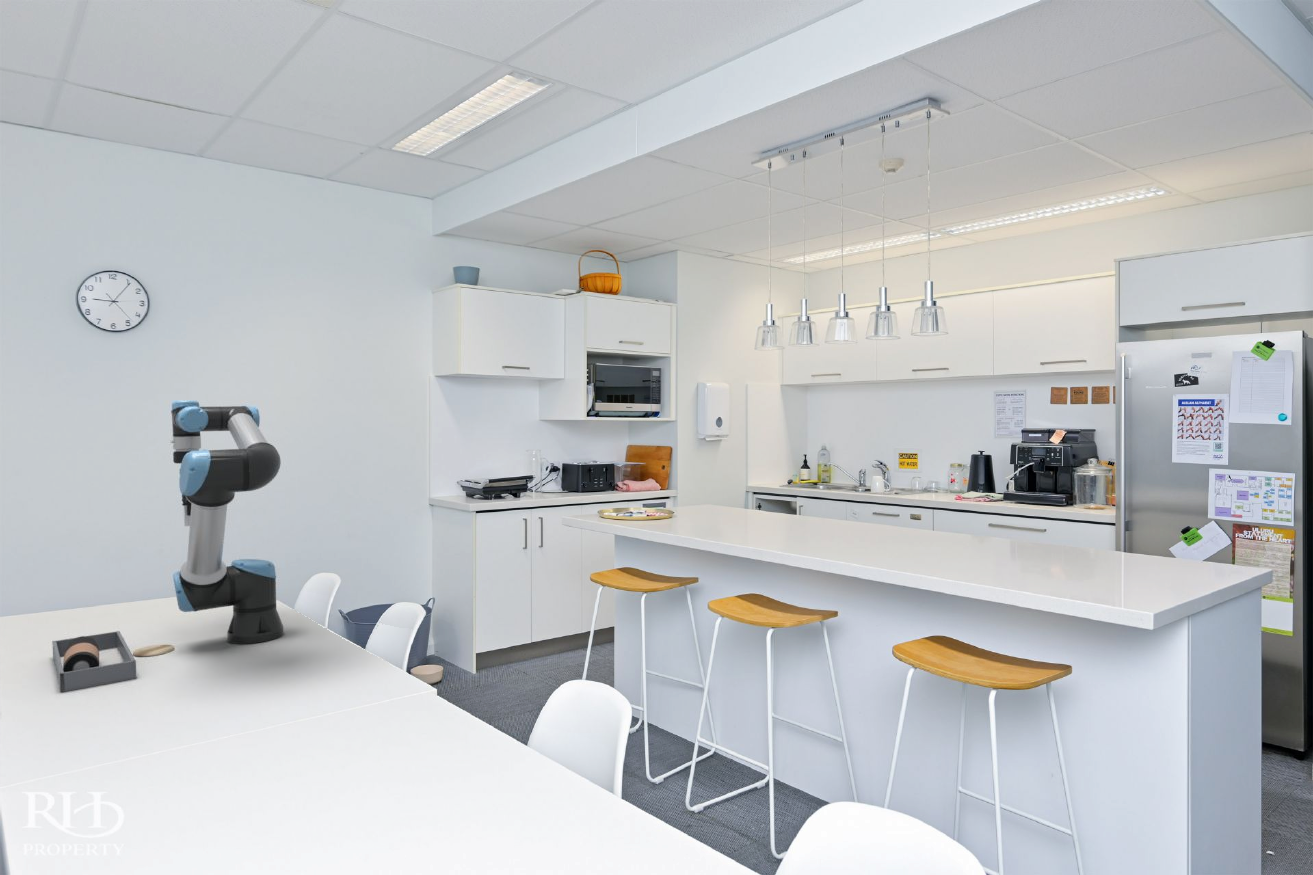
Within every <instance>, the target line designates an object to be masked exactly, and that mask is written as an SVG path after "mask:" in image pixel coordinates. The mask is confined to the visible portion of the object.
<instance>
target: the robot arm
mask: <svg viewBox="0 0 1313 875" xmlns="http://www.w3.org/2000/svg"><path fill="white" fill-rule="evenodd" d="M170 412H171V413H170V414H171V421H172V439H171V440H170V443H171V444H172V448H173V450H175V451H173V453H172V455H173V463H174V464H180V468H179V479H178V480H179V482H178V483H179V490H180V491H179V492H180V494H181V501H182V503H181V504H182V506H183V523H184V524H183V525H184V527H189V529H188V530H189V533H188V546H187V557H186V558H187V559H186V561H185V562H184V563H183V564H182V565H181V566H180V569H179V570H180V571H176V572H174V573H173V575H172V578H173V585H174V592H175V596H176V601H177V606H178V609H179V611H181V612H182V613H191V612H199V611H206V610H213V609H218V608H225V607H226V608H227V607H231V606H232V611H233V613H232V617H231V620H230V624H229V627H228V630H227V633H226V634H227V635H226V636H227V642H228V643H230V644H237V645H238V644H239V645H242V644H244V645H245V644H246V645H247V644H256V643H263V642H268V641H273V640H275V639H278V638H280V637H282V636H283V635H284V632H285V631H284V625H283V622H282V619H281V618H280V615H279V612H278V609H277V587H276V586H277V582H276V579H277V574H276V566H275V564H274V563H273V562H272V561H269V560H264V559H257V558H255V559H254V558H251V559H250V558H244V559H243V558H242V559H241V558H239V559H234V560H232V562H231V564H230V566H227V565H226V563H225V562H224V561H223V552H224V544H225V543H224V541H225V531H226V522H227V511H228V505H229V504H230V503H231V502H233V500H234V498H235V493H240V492H241V493H242V492H251V491H252V492H253V491H256V490H260V489H262V488H263V487H266V486H267V485H269V483H271V482H272V481H273V480H274V479H275V478H276V477H277V475H278V473H279V470H280V468H281V464H282V463H281V455H280V454H279V451H278V450H277V449H276V447H275V446H274V445H273V444H272V443H269V442H268V440H266V438H265V436H264V435H263V433H262V432H261V430H260V428H259V427H260V420H261V419H260V418H261V417H260V412H259V409H258V408H257V407H256V406H250V405H249V406H248V405H241V406H239V405H238V406H235V405H234V406H233V405H232V406H229V405H228V406H200V402H199V401H197V400H174V401H172V403H171V411H170ZM201 432H229V433H230V435H231V437H232V438H233V441H234V442H235V444H236V447H237V448H234V449H233V448H232V449H212V450H211V449H210V450H209V449H205V448H203V449H201V448H202V438H201V437H202V436H201Z"/></svg>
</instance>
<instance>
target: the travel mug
mask: <svg viewBox="0 0 1313 875" xmlns="http://www.w3.org/2000/svg"><path fill="white" fill-rule="evenodd" d="M87 636H88V635H84V636H83V635H82V636H77V637H74V638H75V639H73V640H72V641H71V642H70V643H69V644H68V645H67V648H66V651H65V655H64V656H63V661H62V662H63V663H62V667H63V671H64V672H70V671H76V670H81V669H87V668H93V667H99V666H100V650H99V649H98V645H97V642H96V641H95V640H94V639H93V638H91V637H87Z"/></svg>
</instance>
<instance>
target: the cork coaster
mask: <svg viewBox="0 0 1313 875" xmlns="http://www.w3.org/2000/svg"><path fill="white" fill-rule="evenodd" d="M174 650H175V646H174V645H172V644H156V645H154V644H153V645H148V646H145V647H144V646H143V647H141V648H138V649H136V650H134V651H132V655H133V657H136V658H148V657H149V658H151V657H157V656H162V655H167V654H168V653H171V652H173V651H174Z"/></svg>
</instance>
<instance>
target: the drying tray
mask: <svg viewBox="0 0 1313 875" xmlns="http://www.w3.org/2000/svg"><path fill="white" fill-rule="evenodd" d="M86 636H87V637H91V638H93V639H94V640H95V641H96V642H97V645H98V649H99V651H103V650H104V651H105V650H110V649H116V648H117V650H118V653H119V654H120V656H121V658H122V660H123V662H122V661H121V662H115V663H112V664H111V663H110V664H105V665H99V667H93V668H87V669H81V670H76V671H70V672H64V671H63V663H62V661H61V660H62V659H61V657H64V655H65V651H66V648H67V645H68V644H69V643H70V642H71V641H72V640H73V639H75V638H76V637H71V638H65V639H57V640H52V644H51V645H52V658H53V663H54V667H55V673H56V676H57V677H56V678H57V682H58V685H59V686H58V687H59V691H60V693H64V692H71V691H76V690H81V689H86V688H91V687H96V686H101V685H106V684H114V683H118V682H123V681H128V680H133V679H137V660H136V659H135V656H133V652H132V651H131V650H130V648H129V646H128V645H127V642H126V640H125V638H124V636H123V635H122V633H121V631H120V630H117V631H111V632H103V633H97V634H90V635H86Z"/></svg>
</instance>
